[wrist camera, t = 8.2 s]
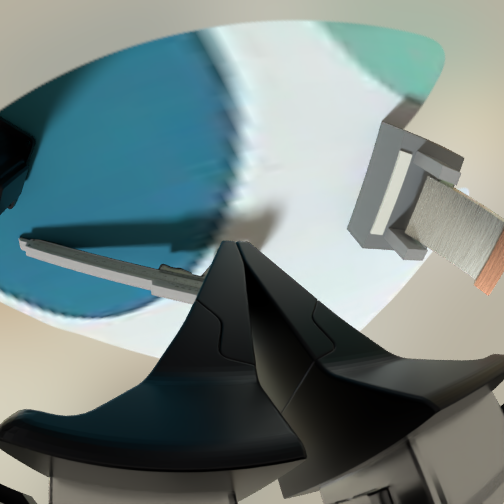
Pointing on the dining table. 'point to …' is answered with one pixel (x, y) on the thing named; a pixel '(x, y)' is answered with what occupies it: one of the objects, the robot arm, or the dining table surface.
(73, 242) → the dining table surface
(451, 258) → the toggle lever
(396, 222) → the breaker housing
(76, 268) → the caliper
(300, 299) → the robot arm
